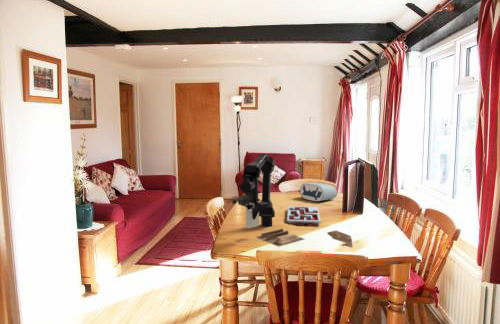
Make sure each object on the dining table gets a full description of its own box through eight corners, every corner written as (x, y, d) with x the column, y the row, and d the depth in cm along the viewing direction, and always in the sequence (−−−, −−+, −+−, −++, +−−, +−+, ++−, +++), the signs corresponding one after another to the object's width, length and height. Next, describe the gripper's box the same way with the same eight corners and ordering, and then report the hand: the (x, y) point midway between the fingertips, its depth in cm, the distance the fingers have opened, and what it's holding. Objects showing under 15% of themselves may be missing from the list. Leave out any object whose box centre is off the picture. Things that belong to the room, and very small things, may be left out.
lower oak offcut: (275, 241, 179) (275, 239, 178) (292, 237, 186) (292, 235, 186) (281, 244, 175) (281, 242, 174) (299, 239, 182) (299, 237, 182)
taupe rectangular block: (245, 227, 183) (245, 210, 182) (256, 225, 187) (256, 208, 186) (248, 228, 181) (248, 211, 180) (258, 225, 186) (258, 208, 185)
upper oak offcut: (276, 239, 178) (276, 237, 178) (291, 235, 184) (291, 233, 184) (281, 241, 175) (282, 239, 175) (296, 237, 181) (296, 235, 181)
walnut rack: (255, 238, 186) (255, 233, 186) (281, 232, 197) (281, 226, 197) (278, 248, 172) (278, 242, 172) (305, 241, 183) (305, 235, 182)
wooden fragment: (325, 231, 199) (325, 229, 199) (345, 231, 199) (345, 229, 199) (338, 248, 174) (338, 246, 173) (360, 248, 174) (360, 245, 174)
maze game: (321, 226, 208) (321, 221, 208) (287, 225, 211) (287, 220, 210) (317, 211, 243) (317, 207, 243) (288, 210, 245) (288, 206, 245)
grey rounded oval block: (299, 198, 280) (300, 182, 279) (314, 196, 293) (315, 180, 292) (322, 203, 264) (323, 186, 263) (337, 200, 277) (338, 184, 276)
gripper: (229, 188, 185) (229, 217, 187) (251, 194, 170) (251, 226, 172) (246, 185, 191) (246, 214, 193) (269, 191, 177) (268, 222, 178)
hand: (252, 218), depth 184 cm, fingers closed on taupe rectangular block, 2 cm apart
